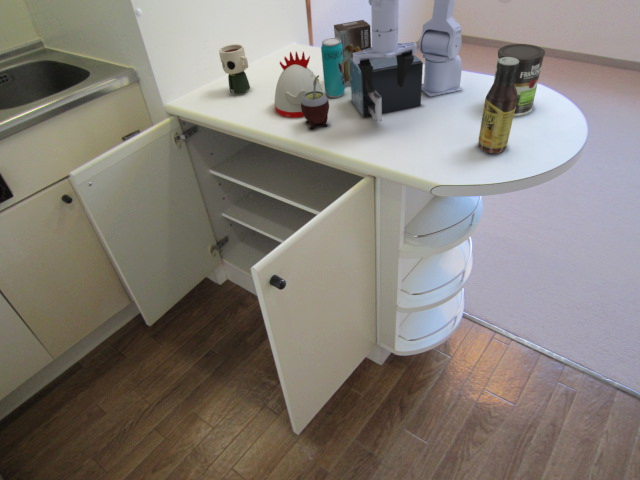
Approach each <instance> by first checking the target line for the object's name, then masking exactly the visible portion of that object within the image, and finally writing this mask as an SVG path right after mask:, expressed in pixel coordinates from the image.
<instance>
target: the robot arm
mask: <svg viewBox="0 0 640 480" xmlns="http://www.w3.org/2000/svg"><path fill="white" fill-rule="evenodd" d="M399 1H400V0H368V4H369V6H370V7H371V8H370V10H371V11H370V12H371V15H370V16H371V48H368V49H365V50H362V51H359V52H355V53H353V62H354V63H355V64H358V66H359V68H360V70H361V72H362V74H363V77H364V80H365V83H366V88H367V91H368V92H369V93H372V73H373V66H372V65H371V62H370V60H376V59H381V58H391V57H395V56H396V57H397V84H398V85H399V86H400V87H403V84H404V81H405V77H406V74H407V72H408V70H409V68H410V66H411V64H412V63H413V61H414V56H413V55H412V54H414V55H415V54H417V53H418V52H417V51H418V50H419V52H420V54H422V58H424V68H423V69H424V70H423V71H424V73H423V83H422V90H421V92H423V93H424V94H426V96H428V97H435V96H440V95H445V94H450V93H455V92H460V91H462V88H461V80H462V71H463V70H462V69H463V63H462V62H463V61H462V59H461V55H459V53H460V51H461V48H462V42H463V41H462V39H463V38H462V25H460V24H459V22H458V21H457V20H456V19H455V18H454V12H455V11H454V9H455V4H456V0H433V8H432V15H431V16H432V17H431V18H430V19H429V20H427V21H426V22H425V23H424V24H423V25H422V29H421V32H420V36H419V40H418V44H417V43H416V42H415V41H411V42H400V43H399V5H400V4H399Z"/></svg>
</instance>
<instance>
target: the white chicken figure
mask: <svg viewBox="0 0 640 480" xmlns="http://www.w3.org/2000/svg"><path fill="white" fill-rule="evenodd" d="M294 56H295V57H294ZM294 56H293V54H292V51H289V59H288V58H287V56H284V57H283V58H284V59H283V60H284V62H285V64H284V63H282V61H281V60H280V61H279V65H280V66H281V69H282V72H281V73H280V75H279V76H278V79H277V82H276V87H275V92H274V108H275V112H276V113H277V114H278V115H279V116H281V117H283V118H289V119H300V118H305V117H304V115H303V113H302V110H301V101H302V98H303V96H304V95H305V94H306V93H308V92H312V91H314V85H313V82H314V80H315V78H316V77H317V76H316V75H315V74H314V71H313V70H312V69H310V68H309V67H308V65H309V63H310V59H311V55H309V56H308V57H307V58H306V55H305V51H302V55H301V59H300V57H299V54H298V51H295V55H294ZM316 91H320V92H323V93H324V90H323V87H322V86H321V84H320V79H319V78H318V79H317V85H316Z"/></svg>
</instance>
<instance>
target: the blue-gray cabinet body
mask: <svg viewBox="0 0 640 480" xmlns="http://www.w3.org/2000/svg"><path fill="white" fill-rule="evenodd" d="M412 55H413V56H414V61H413V63H417V62H422V60H421V59H420V58H419V57H418V56H416V55H415V53H414V54H412ZM370 62H371V65H372V66H373V71H375V70H380V69H385V68H391V67H396V66H397V57H396V56H395V57H391V58H381V59H376V60H370ZM361 73H362V72H361V70H360V68H359V66H358V64H355V63H354V62H353V58H350V77H351V86H350V95H351V102H352V104H353V105H354V106H355V108H356V109H357V110H358V111H359V113H360V115H361V116H362V117H363V105H362V76H361Z"/></svg>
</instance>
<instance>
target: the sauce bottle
mask: <svg viewBox="0 0 640 480" xmlns="http://www.w3.org/2000/svg"><path fill="white" fill-rule="evenodd" d="M496 65H497V73H496V78H495V81H494V80H493V83H492V85H491V87H490V89H489V90H488V92H487V95H486V96H485V98H484V105H483V106H484V107H483V111H482V117H481V121H480V128H479V133H478V148H479V150H481V151H482V152H484V153H486V154H499V153H502V152H505V150H506V149H507V145H508V142H509V138H510V134H511V129H512V125H513V120H514V117H515V116H514V112H515V107H516V105H515V104H516V100H517V89H516V87H515V85H514V82H515V76H516V72H517V69H518V67H519V60H518V59H516V58H513V57H503V58H500V59H499V60H498V63H497V62H496Z"/></svg>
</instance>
